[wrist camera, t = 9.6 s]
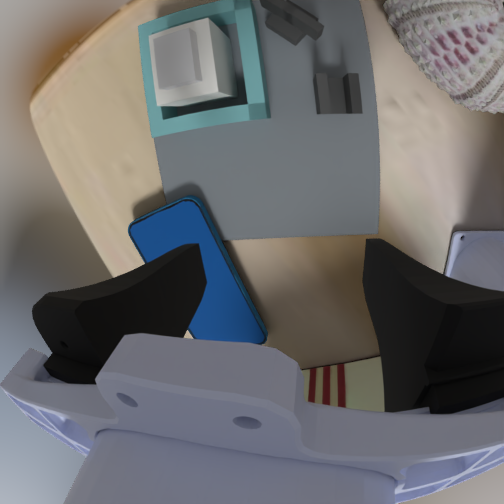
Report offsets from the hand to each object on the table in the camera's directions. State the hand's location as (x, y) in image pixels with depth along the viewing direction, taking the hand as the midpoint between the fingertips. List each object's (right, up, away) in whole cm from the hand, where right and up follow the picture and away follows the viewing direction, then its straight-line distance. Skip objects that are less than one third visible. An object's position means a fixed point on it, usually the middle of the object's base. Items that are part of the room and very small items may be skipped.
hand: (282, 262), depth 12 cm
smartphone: (-6, -2, +13) cm, 14 cm away
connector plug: (-4, +13, +4) cm, 14 cm away
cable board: (-1, +10, +6) cm, 11 cm away
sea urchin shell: (+14, +17, 0) cm, 22 cm away
